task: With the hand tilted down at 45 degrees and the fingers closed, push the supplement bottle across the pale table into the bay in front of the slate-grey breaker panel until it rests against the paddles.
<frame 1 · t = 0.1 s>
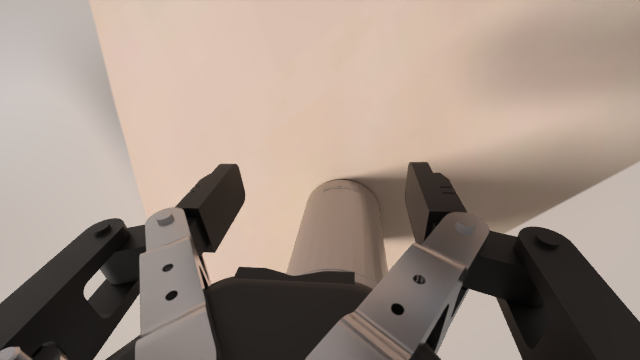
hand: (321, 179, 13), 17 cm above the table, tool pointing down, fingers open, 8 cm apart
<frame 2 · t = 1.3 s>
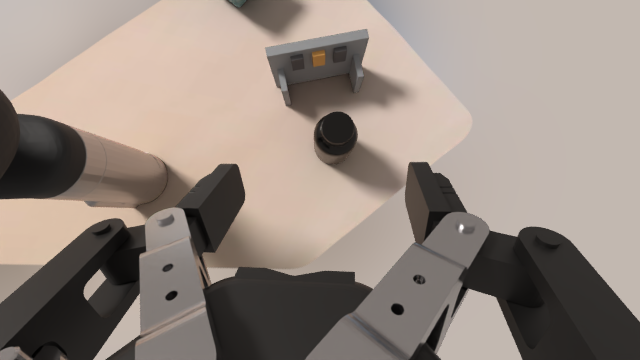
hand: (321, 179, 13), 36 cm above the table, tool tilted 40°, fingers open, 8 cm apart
supplement bottle: (332, 147, 50), on the table
breaker panel: (317, 75, 51), on the table
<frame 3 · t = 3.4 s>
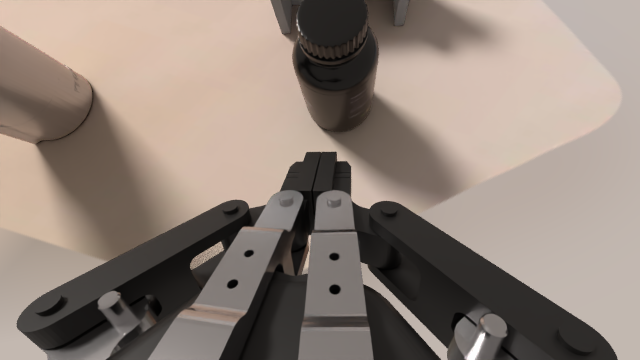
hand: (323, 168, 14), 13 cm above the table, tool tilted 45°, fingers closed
supplement bottle: (340, 105, 29), on the table
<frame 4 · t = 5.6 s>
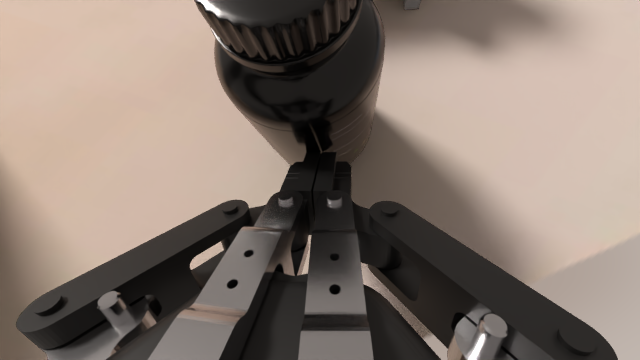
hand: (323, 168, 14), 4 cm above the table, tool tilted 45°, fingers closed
supplement bottle: (322, 129, 19), on the table, touching gripper
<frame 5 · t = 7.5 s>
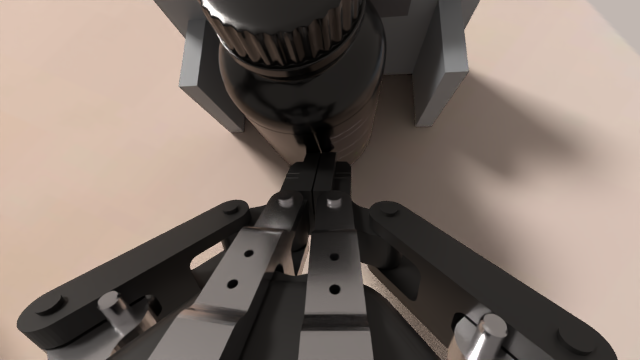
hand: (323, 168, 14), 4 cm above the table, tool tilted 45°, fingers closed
supplement bottle: (322, 131, 19), on the table, touching breaker panel, gripper
breaker panel: (327, 69, 20), on the table
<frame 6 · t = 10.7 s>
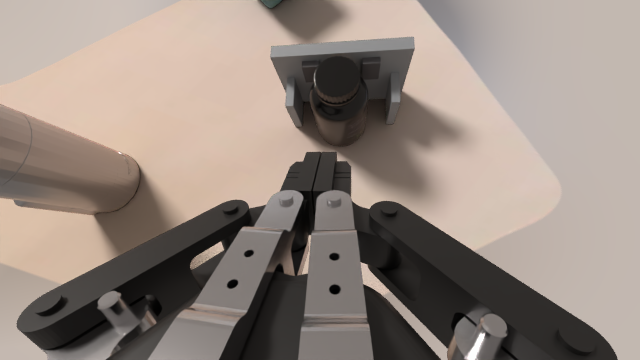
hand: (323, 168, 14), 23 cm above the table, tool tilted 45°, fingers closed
supplement bottle: (341, 126, 39), on the table, touching breaker panel
breaker panel: (343, 95, 40), on the table
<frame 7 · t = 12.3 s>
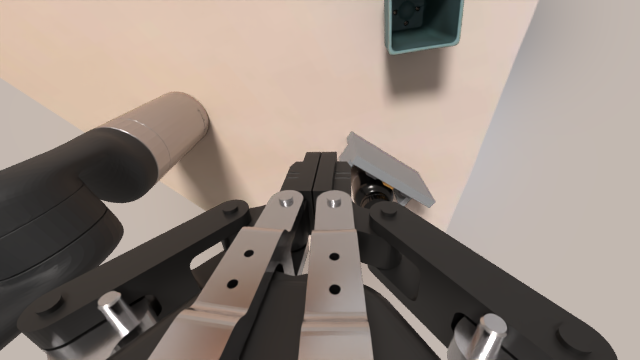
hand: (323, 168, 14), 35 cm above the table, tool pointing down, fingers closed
supplement bottle: (367, 172, 54), on the table, touching breaker panel
breaker panel: (383, 155, 51), on the table
flower pot: (405, 11, 40), on the table
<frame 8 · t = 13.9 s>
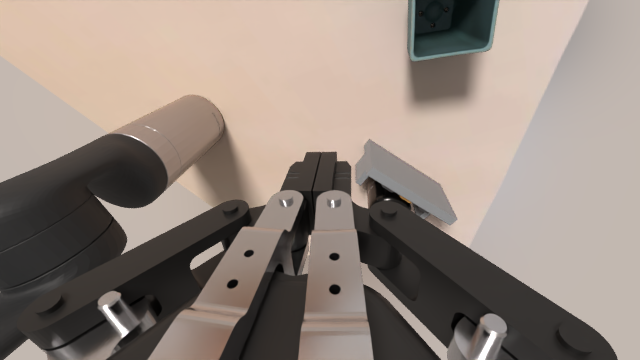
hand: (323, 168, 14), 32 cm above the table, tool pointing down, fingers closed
supplement bottle: (384, 182, 51), on the table, touching breaker panel
breaker panel: (403, 165, 48), on the table
flower pot: (432, 12, 36), on the table
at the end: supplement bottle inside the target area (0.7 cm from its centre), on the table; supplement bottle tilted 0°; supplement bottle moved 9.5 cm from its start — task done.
